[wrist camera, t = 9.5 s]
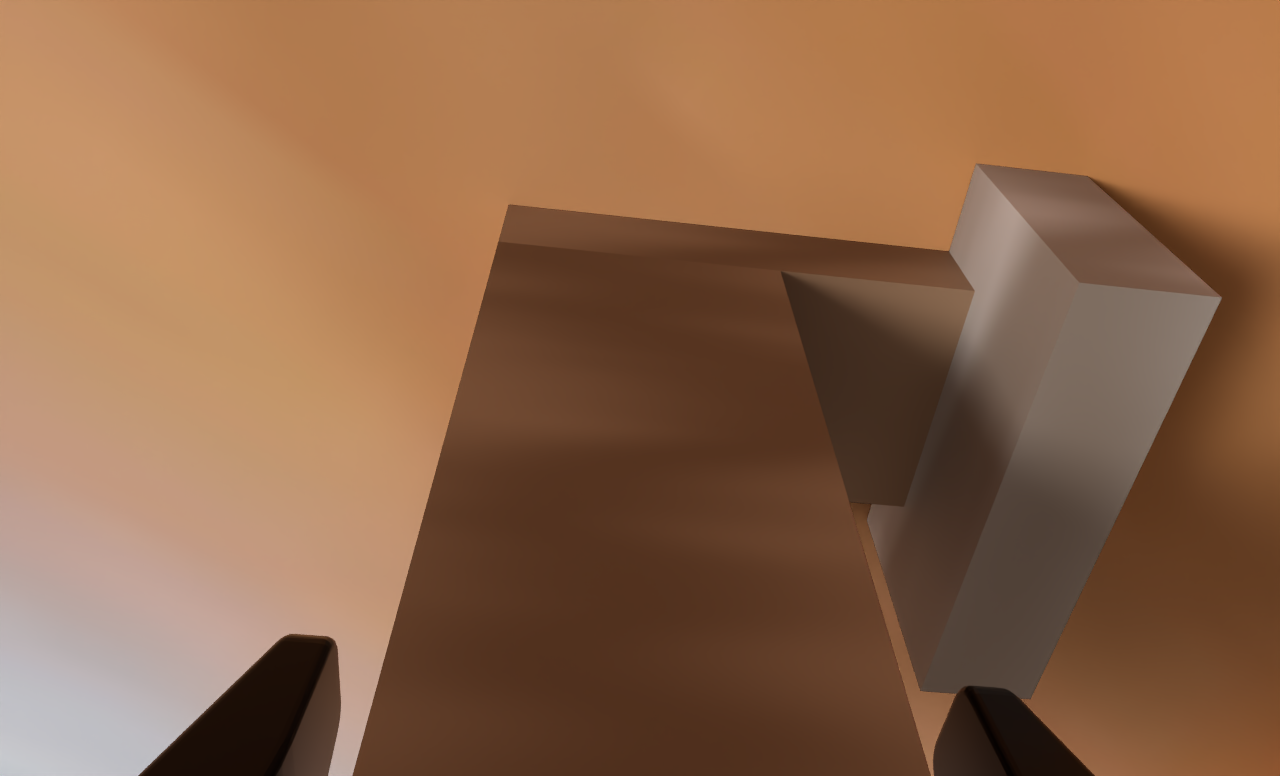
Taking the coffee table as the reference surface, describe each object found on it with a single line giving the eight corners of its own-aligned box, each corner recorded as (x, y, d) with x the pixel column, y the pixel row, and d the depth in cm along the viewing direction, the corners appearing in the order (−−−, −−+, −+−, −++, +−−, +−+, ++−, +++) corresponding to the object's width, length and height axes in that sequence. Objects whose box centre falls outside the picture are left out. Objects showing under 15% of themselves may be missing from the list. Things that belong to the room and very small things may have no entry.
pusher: (1087, 175, 13) (1731, 757, 5) (957, 528, 16) (1247, 1207, 9) (513, 111, 13) (332, 654, 5) (494, 487, 16) (367, 1173, 8)
